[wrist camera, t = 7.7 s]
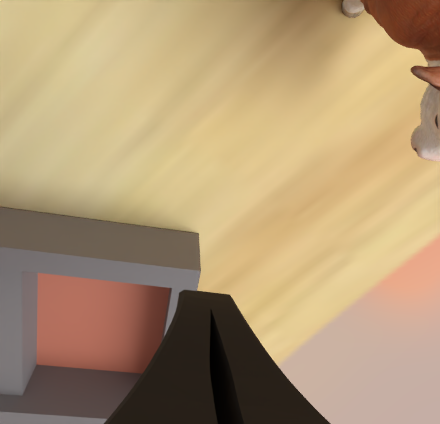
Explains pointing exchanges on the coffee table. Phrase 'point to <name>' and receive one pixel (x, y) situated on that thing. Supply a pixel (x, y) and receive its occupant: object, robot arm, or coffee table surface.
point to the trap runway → (83, 311)
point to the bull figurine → (418, 39)
